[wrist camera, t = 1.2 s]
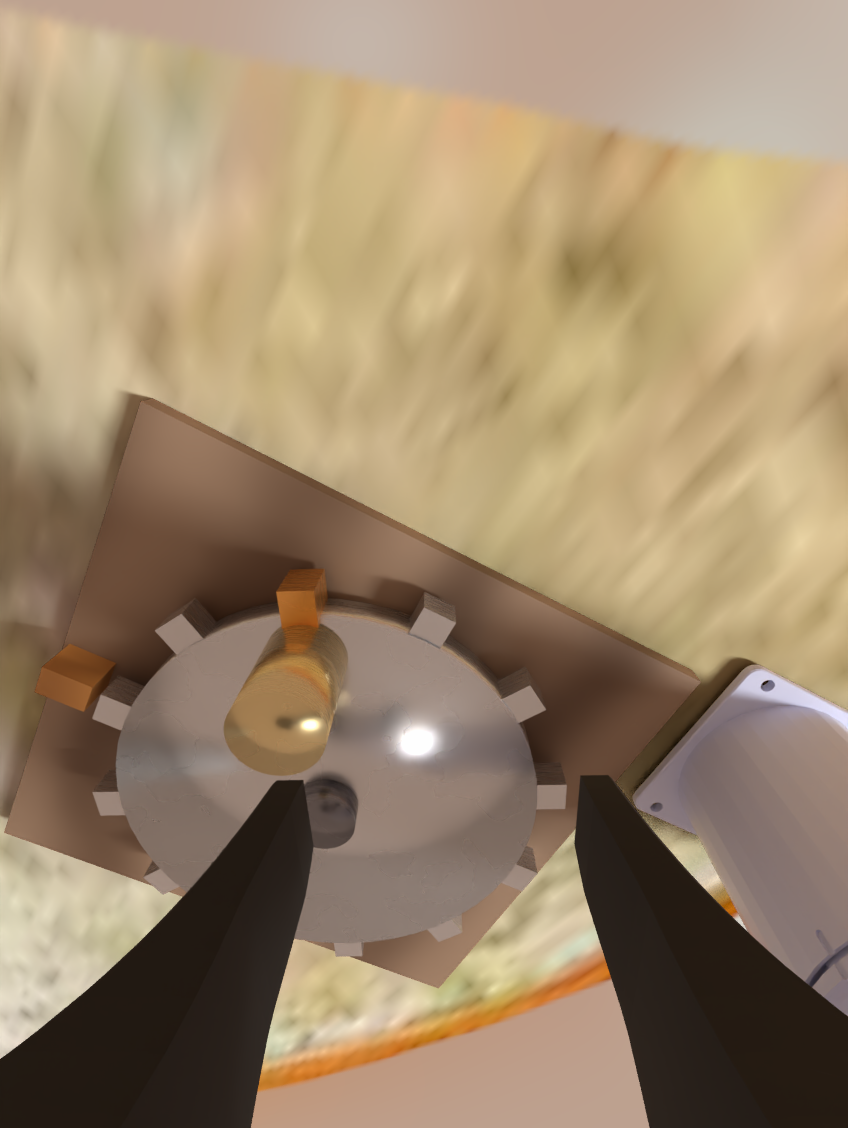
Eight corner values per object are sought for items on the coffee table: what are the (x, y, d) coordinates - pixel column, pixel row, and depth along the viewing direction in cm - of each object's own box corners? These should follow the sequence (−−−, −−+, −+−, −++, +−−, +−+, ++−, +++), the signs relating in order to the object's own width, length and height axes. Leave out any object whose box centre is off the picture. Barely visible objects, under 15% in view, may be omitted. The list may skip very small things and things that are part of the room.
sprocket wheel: (548, 925, 26) (576, 1069, 21) (162, 927, 26) (97, 1069, 21) (572, 561, 19) (622, 643, 14) (50, 576, 20) (-86, 661, 14)
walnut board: (691, 670, 22) (721, 707, 20) (438, 971, 29) (438, 1024, 27) (152, 398, 18) (113, 407, 16) (16, 818, 26) (-24, 864, 23)
